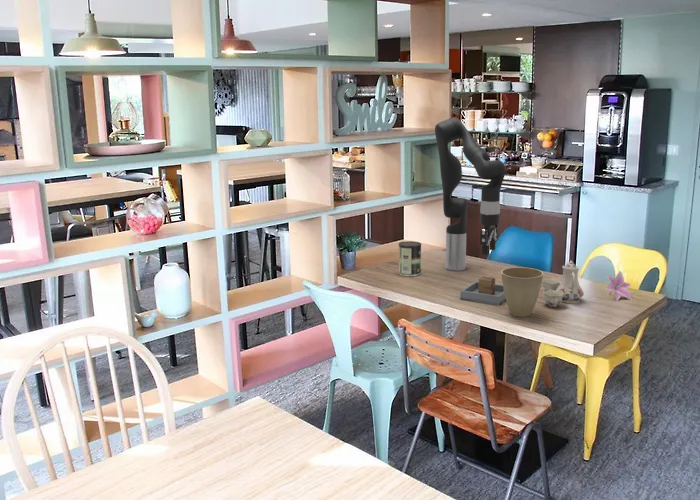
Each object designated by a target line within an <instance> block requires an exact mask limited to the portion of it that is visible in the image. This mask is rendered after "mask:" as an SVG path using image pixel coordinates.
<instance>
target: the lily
mask: <svg viewBox="0 0 700 500" xmlns="http://www.w3.org/2000/svg"><path fill="white" fill-rule="evenodd" d="M606 277H607V279H608V281H609V283H608V284H607V285H605V288H604V290H606V291H609V294H608V295H609V296H610V295H611V294H612V293H613V294H614V298H615V301H616V302H617V301H619V300H620V298H621V296H622V297H625V298H626V299H628V300H632V296H631V293H630V291H629V290H628V289H629V288H630V287H631V284H630V283H628V282H626V281H625V279H624V275H623V272H622V271H621V270H619V271H618V273H617V274H616V275H615V277H613V276H612V275H609V274H607V275H606Z"/></svg>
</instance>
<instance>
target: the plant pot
mask: <svg viewBox="0 0 700 500" xmlns="http://www.w3.org/2000/svg"><path fill="white" fill-rule="evenodd" d="M500 273H501V280H502V283H501V284H502V285H503V289H504V293H505V298H506V300H505V301H506V304H507V307H508V310H509V313H510V315H512V316H514V317H520V318H523V317H525V318H526V317H530V316H531V315H532V312H533V310H534V308H535V306H536V304H537V301H538V297H539V294H540V292H541V287H542V279H543V278H544V272H543V271H541V270H540V269H537V268H533V267H532V268H531V267H523V266H522V267H521V266H519V267H518V266H517V267H508V268H504V269H502V270H501V272H500Z"/></svg>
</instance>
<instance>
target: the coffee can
mask: <svg viewBox="0 0 700 500" xmlns="http://www.w3.org/2000/svg"><path fill="white" fill-rule="evenodd" d="M421 274H422V242H419V241H415V240H414V241H412V240H407V241H406V240H405V241H401V242H400V241H399V243H398V275H400V276H403V277H418V276H419V275H421Z"/></svg>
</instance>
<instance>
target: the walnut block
mask: <svg viewBox="0 0 700 500" xmlns="http://www.w3.org/2000/svg"><path fill="white" fill-rule="evenodd" d="M478 282H479V289H478V293H483V294H490V295H494V294H495V284H496V277H493V276H492V277H491V276H485V275H483V276H481V277H479V278H478Z"/></svg>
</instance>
